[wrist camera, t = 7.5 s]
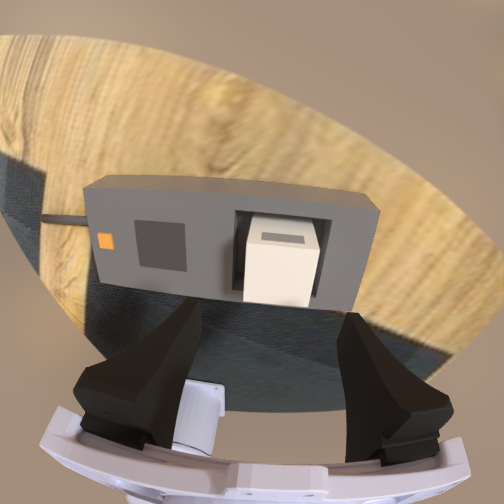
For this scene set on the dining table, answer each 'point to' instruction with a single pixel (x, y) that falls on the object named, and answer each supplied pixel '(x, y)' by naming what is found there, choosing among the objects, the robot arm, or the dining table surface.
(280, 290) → the plug
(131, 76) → the dining table surface
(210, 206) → the power strip
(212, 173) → the dining table surface
